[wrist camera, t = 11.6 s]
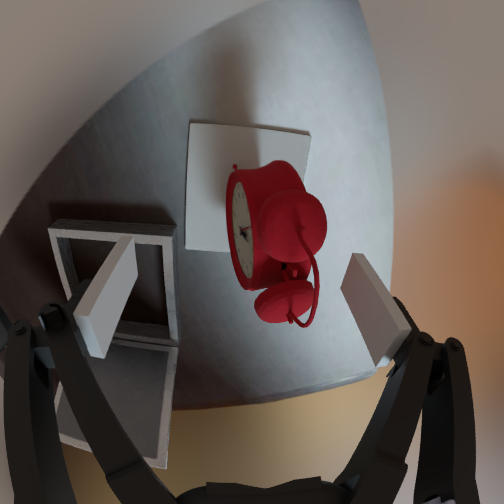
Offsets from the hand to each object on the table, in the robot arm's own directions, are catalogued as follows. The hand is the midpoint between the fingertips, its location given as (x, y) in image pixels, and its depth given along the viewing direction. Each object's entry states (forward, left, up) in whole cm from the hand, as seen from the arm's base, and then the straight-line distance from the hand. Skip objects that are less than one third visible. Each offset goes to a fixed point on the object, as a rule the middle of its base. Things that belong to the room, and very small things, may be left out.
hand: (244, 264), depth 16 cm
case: (-14, -12, -12) cm, 22 cm away
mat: (0, 0, -12) cm, 12 cm away
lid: (-14, -19, -9) cm, 25 cm away
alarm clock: (+2, 0, -12) cm, 12 cm away
